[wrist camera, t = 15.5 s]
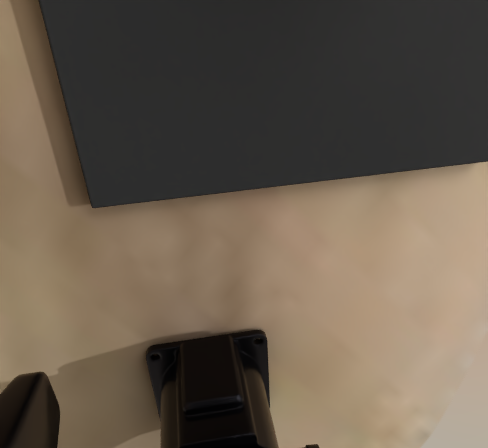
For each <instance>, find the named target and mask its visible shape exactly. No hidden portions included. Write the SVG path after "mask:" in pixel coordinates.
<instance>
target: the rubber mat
mask: <svg viewBox="0 0 488 448" xmlns="http://www.w3.org/2000/svg"><path fill="white" fill-rule="evenodd" d="M39 4H40V8H41V11H42V15H43V19H44V23H45V27H46V31H47V35H48V39H49V43H50V47H51V50H52V54H53V58H54V62H55V66H56V70H57V74H58V78H59V82H60V85H61V89H62V93H63V97H64V101H65V105H66V109H67V113H68V117H69V121H70V124H71V128H72V132H73V136H74V140H75V144H76V148H77V152H78V156H79V160H80V163H81V167H82V171H83V175H84V179H85V183H86V187H87V191H88V195H89V199H90V202H91V206H92V208H99V207H107V206H116V205H124V204H132V203H141V202H149V201H158V200H166V199H175V198H183V197H192V196H200V195H208V194H217V193H225V192H234V191H242V190H251V189H259V188H267V187H276V186H284V185H293V184H301V183H310V182H318V181H327V180H335V179H343V178H352V177H360V176H369V175H377V174H386V173H394V172H403V171H411V170H419V169H428V168H436V167H445V166H453V165H462V164H470V163H478V162H487V161H488V0H39Z"/></svg>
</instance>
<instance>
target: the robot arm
mask: <svg viewBox="0 0 488 448" xmlns="http://www.w3.org/2000/svg"><path fill="white" fill-rule="evenodd" d="M257 338H260V339H259V340H255V339H257ZM153 354H158V355H153ZM146 361H147V365H148V369H149V374H150V378H151V382H152V386H153V391H154V395H155V399H156V404H157V408H158V412H159V417H160V421H161V448H279V447H278V443H277V438H276V434H275V430H274V425H273V421H272V417H271V413H270V397H269V372H268V348H267V338H266V334H265V332H264V331H262V330H252V331H245V332H239V333H232V334H225V335H218V336H212V337H205V338H198V339H192V340H185V341H178V342H172V343H165V344H158V345H153V346H150V347H149V348H148V349H147V351H146ZM59 423H60V409H59V404H58V401H57V399H56V396H55V394H54V391H53V389H52V386H51V384H50V381H49V379H48V376H47V375H46V374H45V373H44V372H35V373H28V374H22V375H19V376H17V377H16V378H14V379H13V380H12V382H11V383H10V384H9V385H8V386H7V387H6V388H5V389H4V390H3V392H2V393H1V394H0V448H57V445H58V434H59ZM304 448H319V446H318V444H314V445H306V446H305V447H304Z"/></svg>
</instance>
